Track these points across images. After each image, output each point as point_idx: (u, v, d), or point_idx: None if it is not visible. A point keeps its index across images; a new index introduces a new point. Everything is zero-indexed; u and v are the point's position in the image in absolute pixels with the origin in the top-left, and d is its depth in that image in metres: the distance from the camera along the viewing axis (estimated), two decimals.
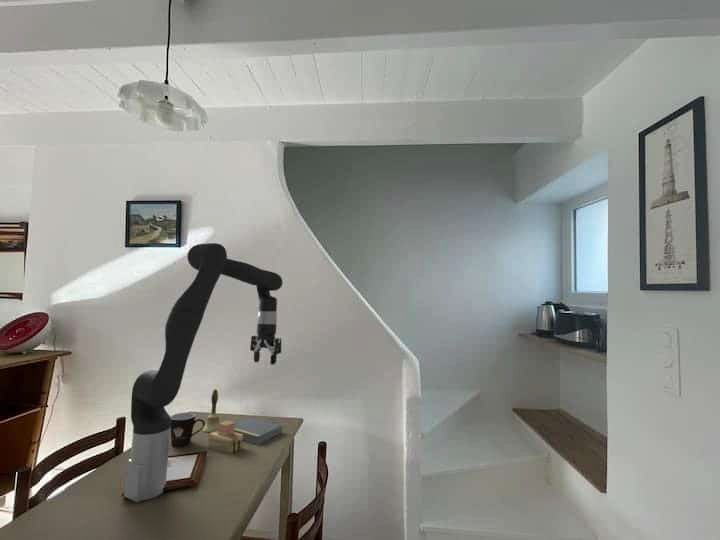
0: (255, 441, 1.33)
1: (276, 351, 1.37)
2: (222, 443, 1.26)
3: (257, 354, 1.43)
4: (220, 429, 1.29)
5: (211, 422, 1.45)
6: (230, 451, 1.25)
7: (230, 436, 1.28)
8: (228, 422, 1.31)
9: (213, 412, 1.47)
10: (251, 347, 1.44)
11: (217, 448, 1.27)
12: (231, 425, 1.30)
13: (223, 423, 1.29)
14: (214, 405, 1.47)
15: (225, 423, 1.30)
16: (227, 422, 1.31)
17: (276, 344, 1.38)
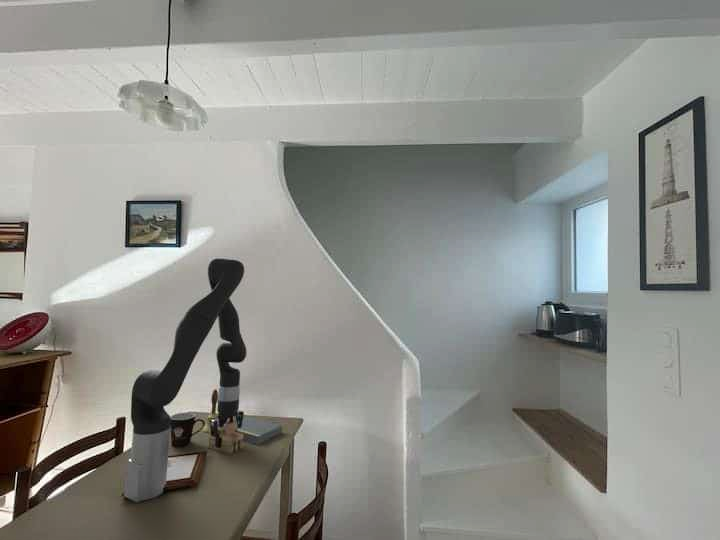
0: (255, 441, 1.33)
1: (240, 425, 1.35)
2: (222, 442, 1.26)
3: None
4: None
5: None
6: (230, 451, 1.25)
7: (230, 436, 1.28)
8: None
9: (213, 412, 1.47)
10: (216, 433, 1.25)
11: (217, 448, 1.27)
12: (231, 425, 1.30)
13: None
14: (214, 405, 1.47)
15: None
16: None
17: (242, 417, 1.35)
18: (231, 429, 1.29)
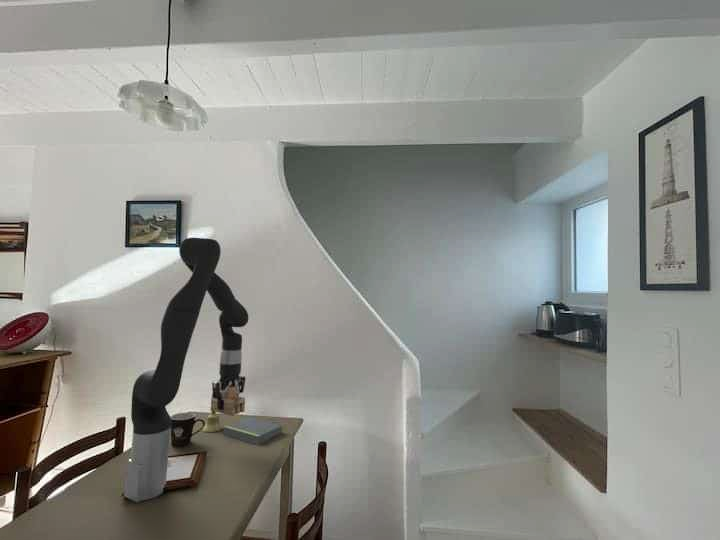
0: (255, 441, 1.33)
1: (242, 389, 1.36)
2: (224, 405, 1.27)
3: None
4: None
5: (211, 422, 1.45)
6: (232, 412, 1.26)
7: (232, 398, 1.29)
8: None
9: (213, 412, 1.47)
10: (219, 395, 1.26)
11: (219, 410, 1.28)
12: (233, 388, 1.31)
13: None
14: None
15: None
16: None
17: (243, 382, 1.36)
18: (233, 392, 1.30)
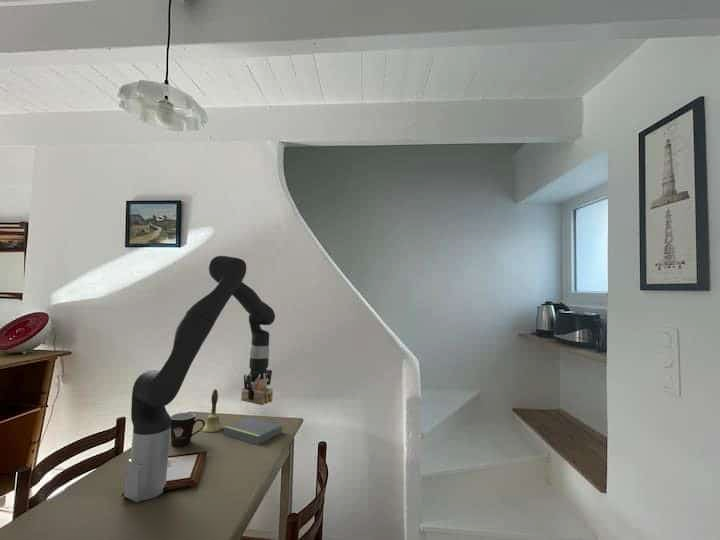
0: (255, 441, 1.33)
1: (269, 382, 1.49)
2: (254, 395, 1.41)
3: None
4: None
5: (211, 422, 1.45)
6: (262, 402, 1.39)
7: (261, 390, 1.42)
8: None
9: (213, 412, 1.47)
10: (250, 386, 1.39)
11: (250, 400, 1.41)
12: (262, 380, 1.44)
13: None
14: (214, 405, 1.47)
15: None
16: None
17: (270, 375, 1.49)
18: (262, 384, 1.44)
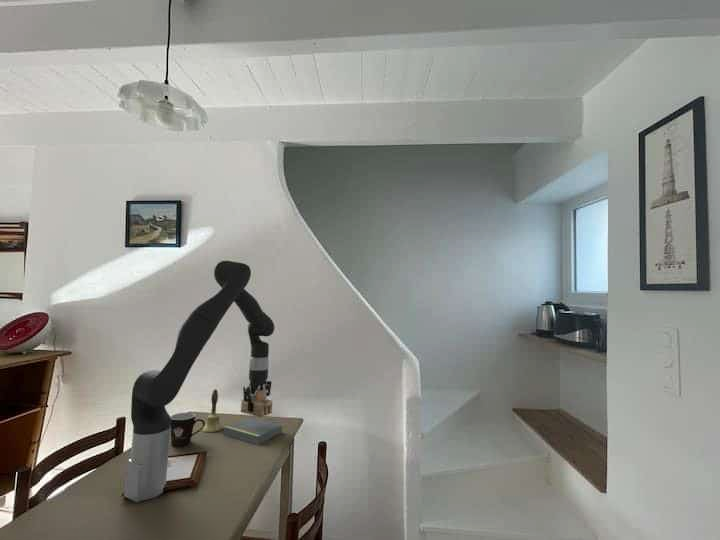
0: (255, 441, 1.33)
1: (269, 393, 1.48)
2: (254, 407, 1.40)
3: None
4: None
5: (211, 422, 1.45)
6: (262, 414, 1.39)
7: (261, 401, 1.42)
8: None
9: (213, 412, 1.47)
10: (249, 398, 1.39)
11: (249, 412, 1.41)
12: (261, 392, 1.43)
13: None
14: (214, 405, 1.47)
15: None
16: None
17: (270, 386, 1.49)
18: (261, 396, 1.43)
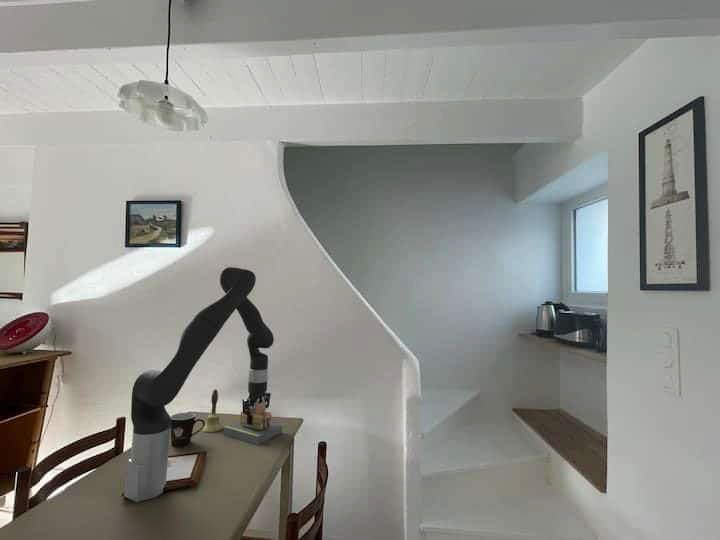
0: (255, 441, 1.33)
1: (268, 405, 1.48)
2: (253, 420, 1.40)
3: None
4: None
5: (211, 422, 1.45)
6: (261, 427, 1.38)
7: (260, 414, 1.41)
8: None
9: (213, 412, 1.47)
10: (248, 411, 1.38)
11: None
12: (261, 404, 1.43)
13: None
14: (214, 405, 1.47)
15: None
16: None
17: (269, 398, 1.49)
18: (260, 408, 1.43)
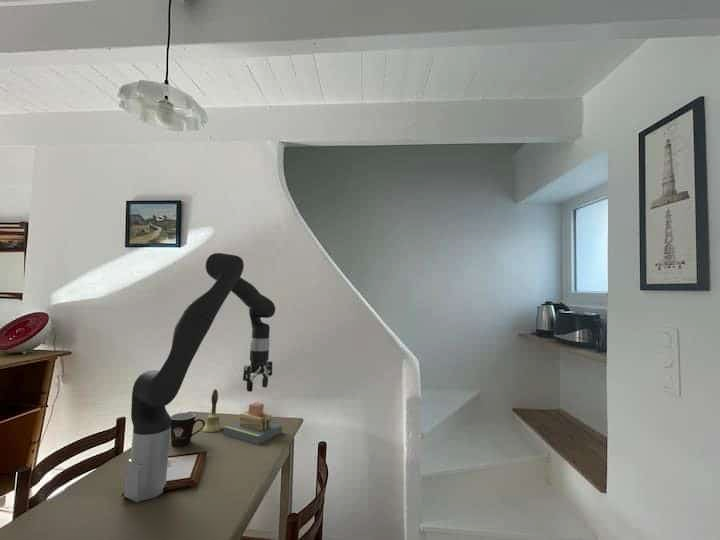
0: (255, 441, 1.33)
1: (271, 373, 1.50)
2: (253, 422, 1.40)
3: None
4: (251, 409, 1.42)
5: (211, 422, 1.45)
6: (260, 429, 1.38)
7: (260, 416, 1.41)
8: (257, 403, 1.44)
9: (213, 412, 1.47)
10: (248, 378, 1.38)
11: (248, 426, 1.41)
12: (260, 406, 1.43)
13: (253, 404, 1.43)
14: (214, 405, 1.47)
15: (255, 404, 1.43)
16: (256, 403, 1.44)
17: (271, 366, 1.50)
18: (260, 410, 1.43)
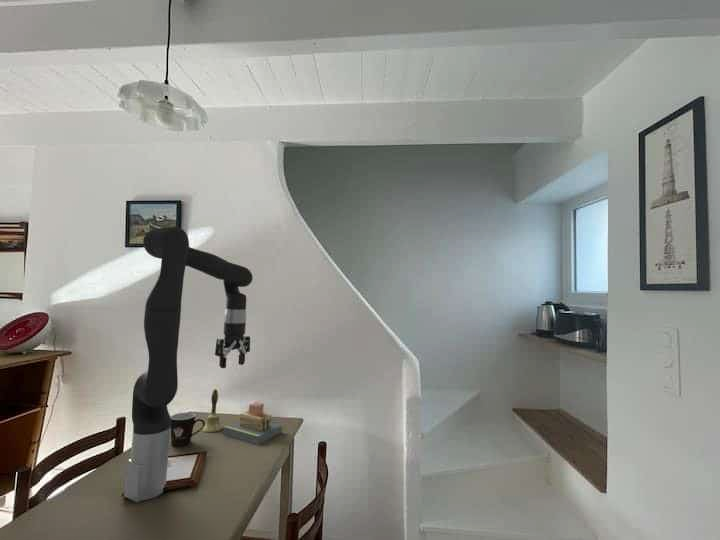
0: (255, 441, 1.33)
1: (249, 349, 1.35)
2: (253, 422, 1.40)
3: None
4: (251, 409, 1.42)
5: (211, 422, 1.45)
6: (260, 429, 1.38)
7: (260, 416, 1.41)
8: (257, 403, 1.44)
9: (213, 412, 1.47)
10: (221, 352, 1.23)
11: (248, 426, 1.41)
12: (260, 406, 1.43)
13: (253, 404, 1.43)
14: (214, 405, 1.47)
15: (255, 404, 1.43)
16: (256, 403, 1.44)
17: (249, 342, 1.35)
18: (260, 410, 1.43)
